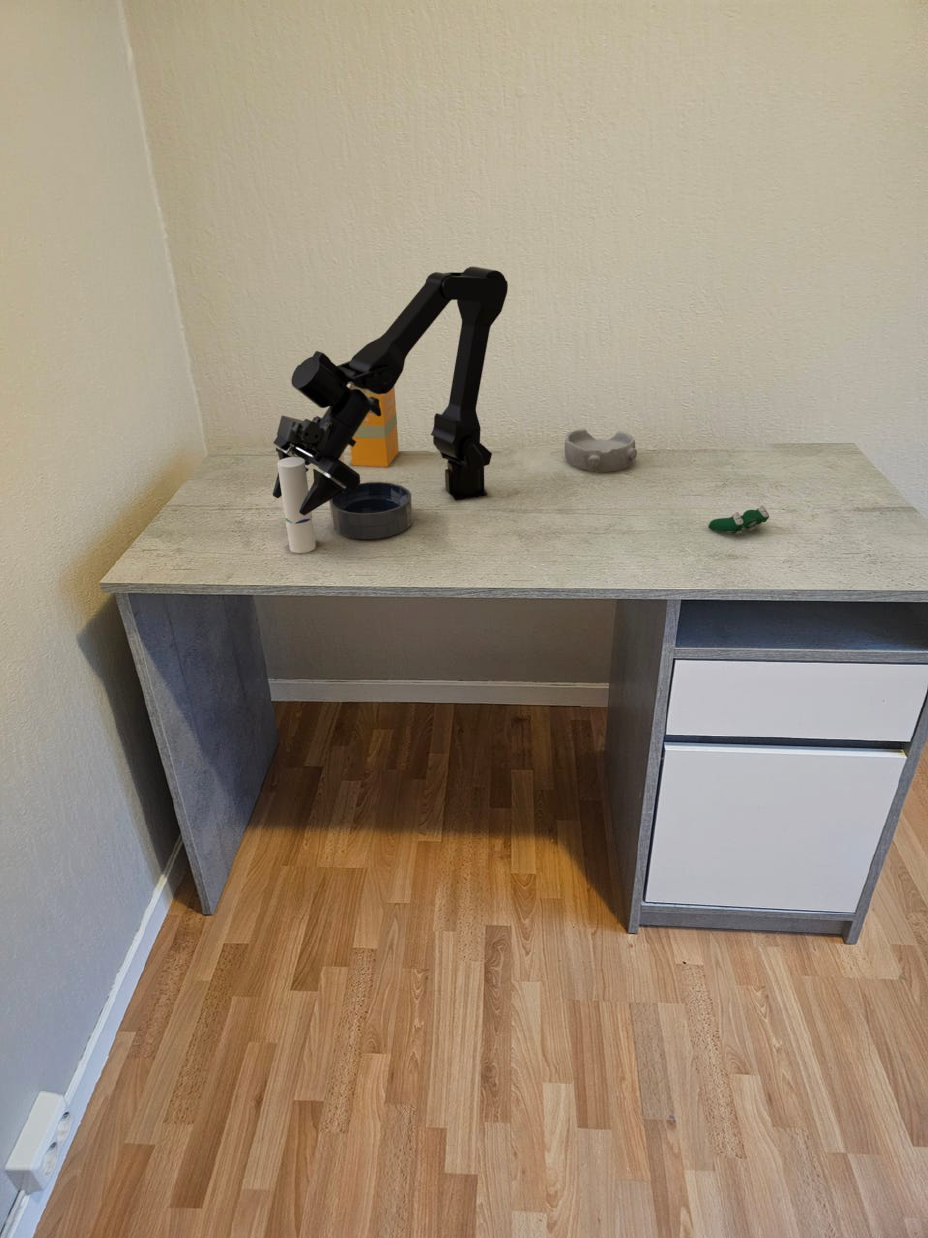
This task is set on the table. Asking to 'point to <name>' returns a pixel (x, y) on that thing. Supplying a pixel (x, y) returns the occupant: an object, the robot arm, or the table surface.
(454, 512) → the table surface
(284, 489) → the tube
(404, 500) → the bowl
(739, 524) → the green elongated piece
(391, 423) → the orange juice
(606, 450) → the dish
